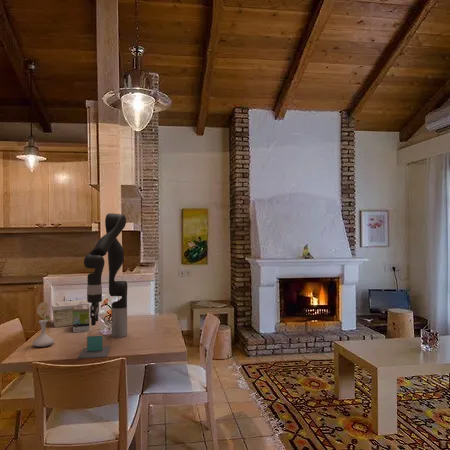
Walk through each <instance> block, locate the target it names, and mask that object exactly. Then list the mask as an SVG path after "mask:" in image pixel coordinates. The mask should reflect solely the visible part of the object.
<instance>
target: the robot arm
mask: <svg viewBox="0 0 450 450" xmlns="http://www.w3.org/2000/svg"><path fill="white" fill-rule="evenodd" d="M104 224H105V225H104V227H105V233H106V234H104V235H103V236H101V237H100V238H99V240H98V241H97V243H96V245H95V246H94V248H92V249H91V250H90V251H89V253H87V254H86V255H85V258H84V259H83V265H84V267H85V268H86V269H92V270H93V269H94V271H93V272H90V273H88V274H87V276H86V277H87V281H86V282H87V287H86V300H87V302H89V304H91V305H89V309H90V313H89V319H90V324H91V325H90V326H96V325H97V322H98V321H99V312H100V304H99V303H101V302H102V301H103V292H102V291H103V286H102V276H103V271H104V268H105V263H106V262H105V258H104V257H105V256H106V255H107V261H108V263H107V264H108V293H109V296H110V297H121V298H120V299H118V300H115V301H113V302H112V303H111V337H112V338H124V337H127V336H128V283H127V282H128V281H126V280H115V278H116V275H117V274H118V271H119V270H120V268H121V267H122V265H124V261H125V251H124V249H123V246H122V244H121V243H120V241H119V239H118V236H119V235H120V234H121V233H122V232H123V230H124V229H125V228H126V225H127V217H126V215H124V214H121V213H110V212H109V213H106V215H105V221H104Z"/></svg>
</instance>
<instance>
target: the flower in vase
mask: <svg viewBox="0 0 450 450" xmlns="http://www.w3.org/2000/svg"><path fill="white" fill-rule="evenodd" d="M49 307H50V304H49V302H47V301H42V302H40V303H39V304H38V305H37V308H36V314H37V315H38V316H39V317H40V318H41V320H38V323H39V325H40V334H39V336H37V337H36V338H35V339H34V340H33V341H32V343H31V345H32V346H33V347H37V348H38V347H39V348H40V347H41V348H42V347H47V346H50V345H53V344H54V343H55V339H53V338H52V337H51V336H50V335H48V334H47V333H46V332H47V331H46V327H47V323H48V321H49V320H51V317H50V315H47V312H48V311H49ZM43 315H45V316H43Z"/></svg>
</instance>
